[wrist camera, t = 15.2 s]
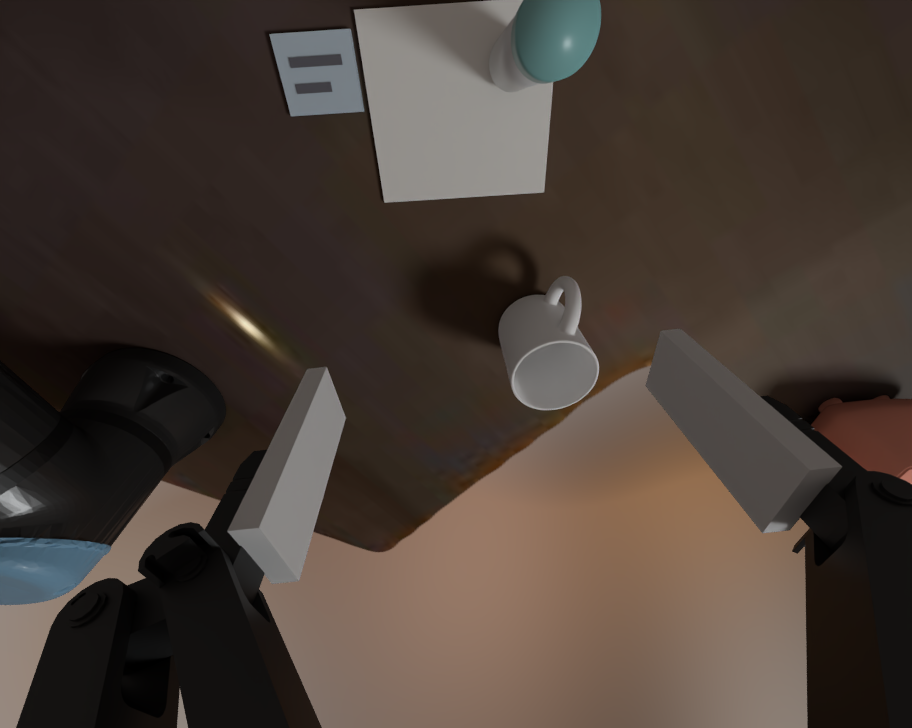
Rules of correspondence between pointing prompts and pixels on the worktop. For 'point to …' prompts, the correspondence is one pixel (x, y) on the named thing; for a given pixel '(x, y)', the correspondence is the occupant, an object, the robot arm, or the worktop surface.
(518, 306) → the mug
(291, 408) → the robot arm
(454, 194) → the paper
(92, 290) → the worktop surface
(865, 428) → the teapot
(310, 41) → the word card
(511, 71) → the marker
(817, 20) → the worktop surface
